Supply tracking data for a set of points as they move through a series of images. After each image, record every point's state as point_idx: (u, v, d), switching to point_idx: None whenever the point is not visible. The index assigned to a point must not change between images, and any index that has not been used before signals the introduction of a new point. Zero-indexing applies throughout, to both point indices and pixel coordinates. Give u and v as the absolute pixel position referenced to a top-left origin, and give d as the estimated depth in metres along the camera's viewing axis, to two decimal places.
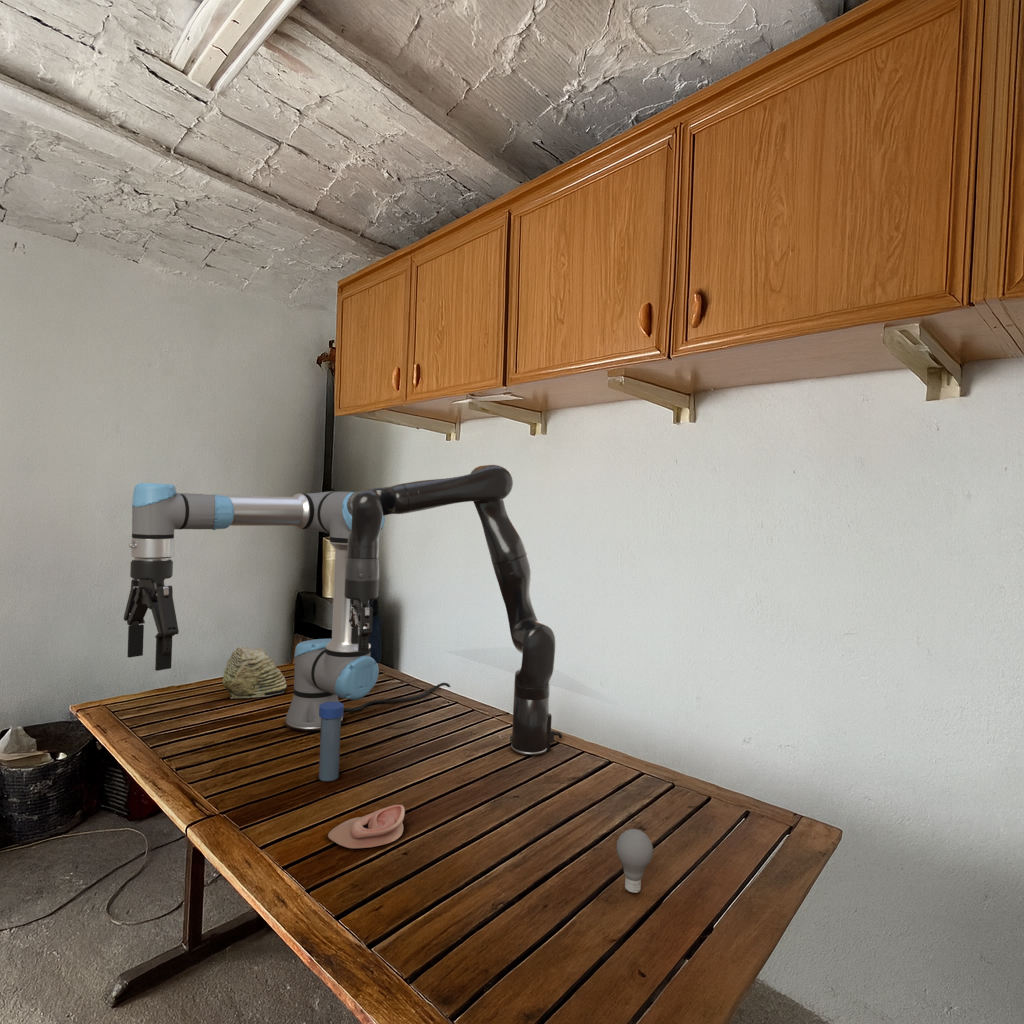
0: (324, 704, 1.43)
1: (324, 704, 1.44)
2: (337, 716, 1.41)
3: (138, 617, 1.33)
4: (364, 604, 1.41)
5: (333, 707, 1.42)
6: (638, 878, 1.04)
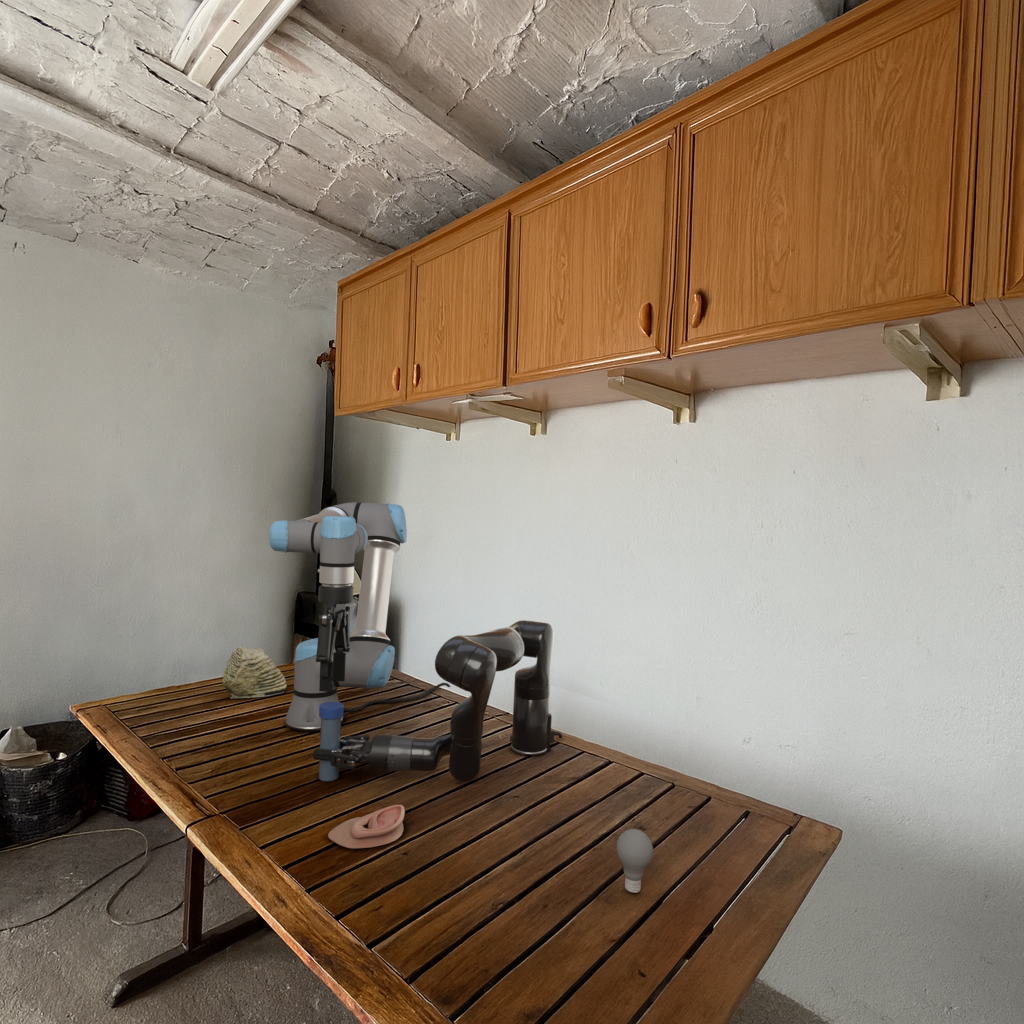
0: (324, 704, 1.43)
1: (323, 704, 1.44)
2: (337, 716, 1.41)
3: (339, 643, 1.46)
4: None
5: (333, 707, 1.42)
6: (638, 878, 1.04)
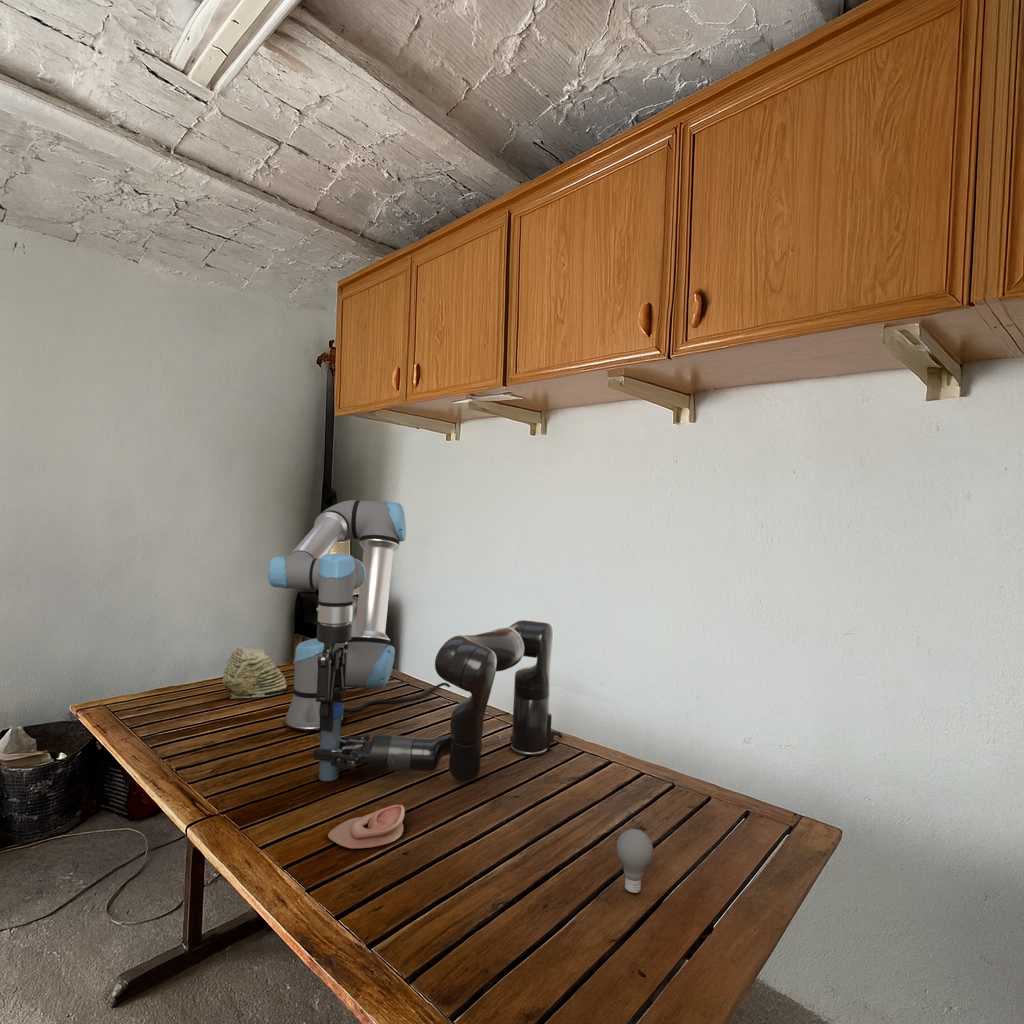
0: None
1: None
2: (337, 716, 1.41)
3: (337, 682, 1.46)
4: None
5: (333, 707, 1.42)
6: (638, 878, 1.04)
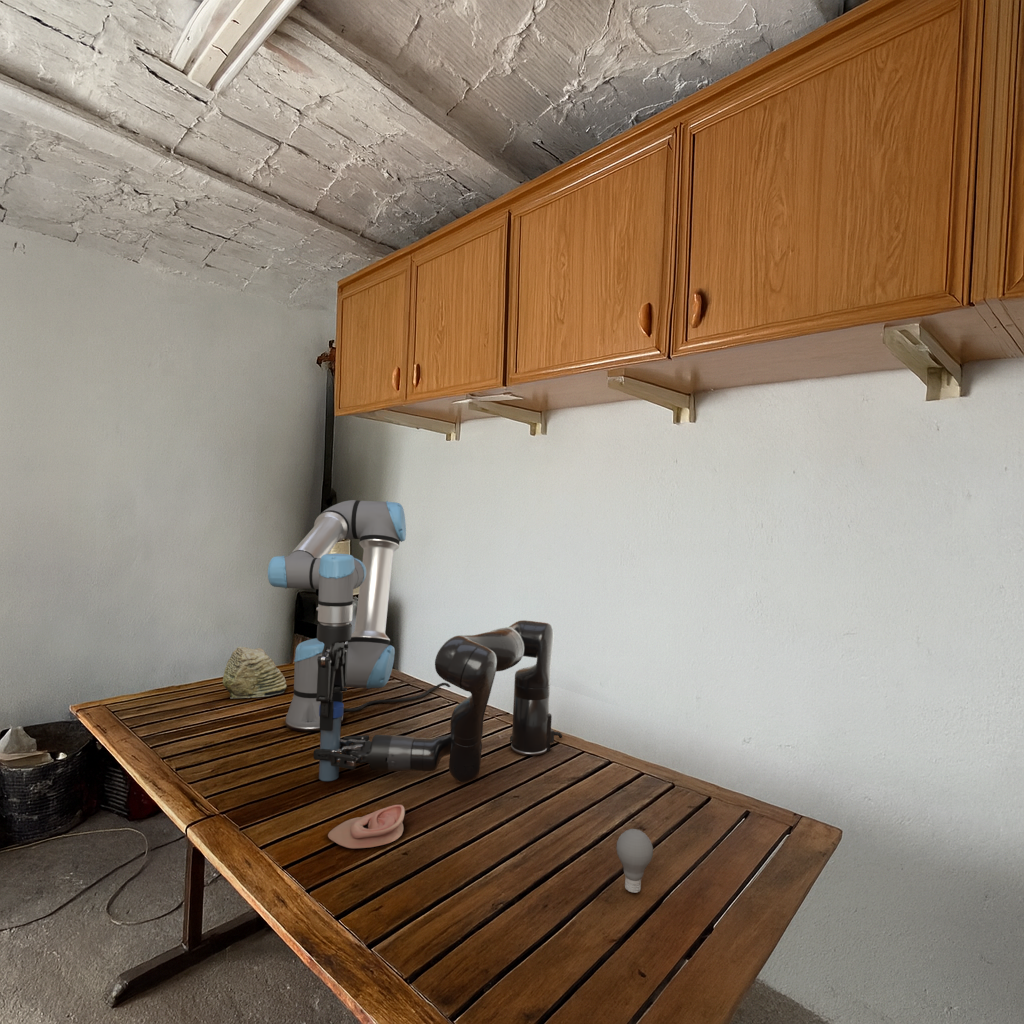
0: None
1: None
2: None
3: (337, 682, 1.46)
4: None
5: (338, 704, 1.43)
6: (638, 878, 1.04)
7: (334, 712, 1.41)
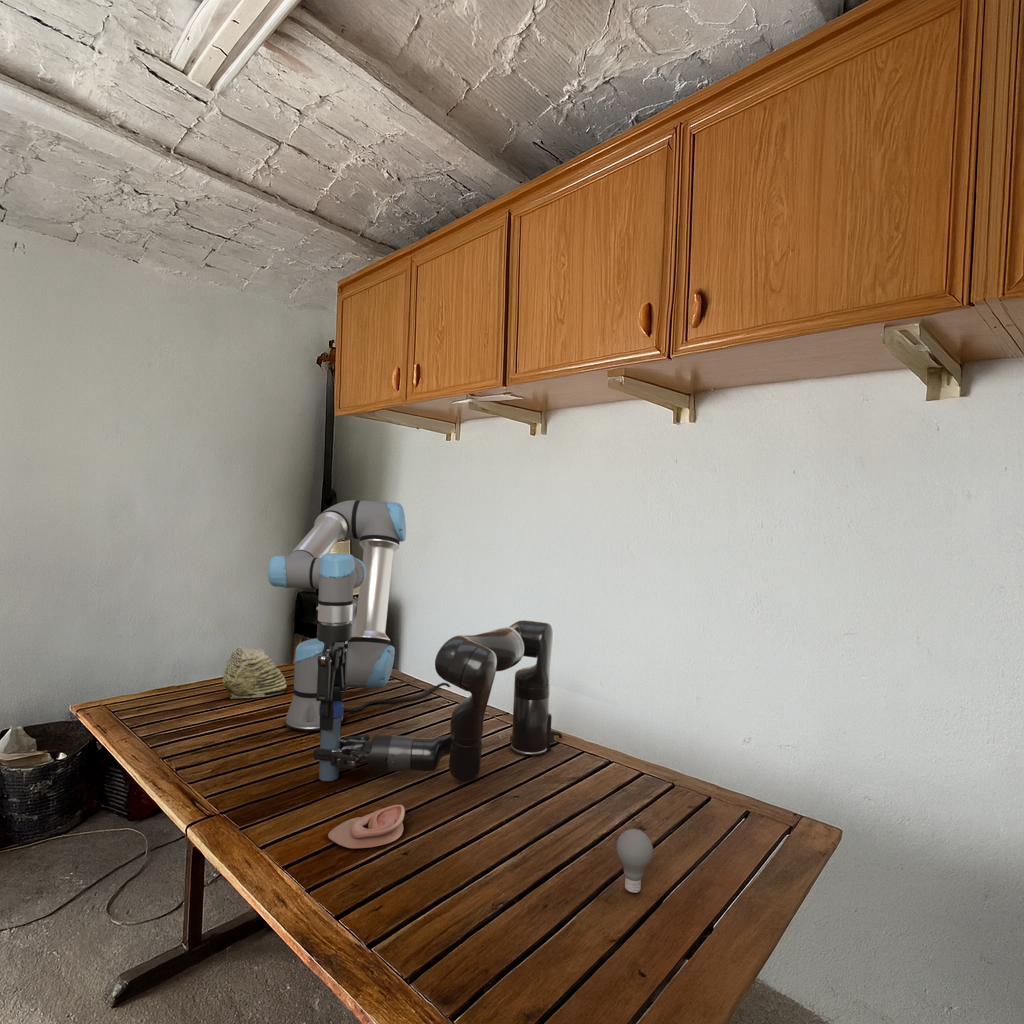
0: (336, 706, 1.42)
1: (336, 707, 1.42)
2: None
3: (337, 681, 1.46)
4: None
5: None
6: (638, 878, 1.04)
7: (343, 707, 1.44)
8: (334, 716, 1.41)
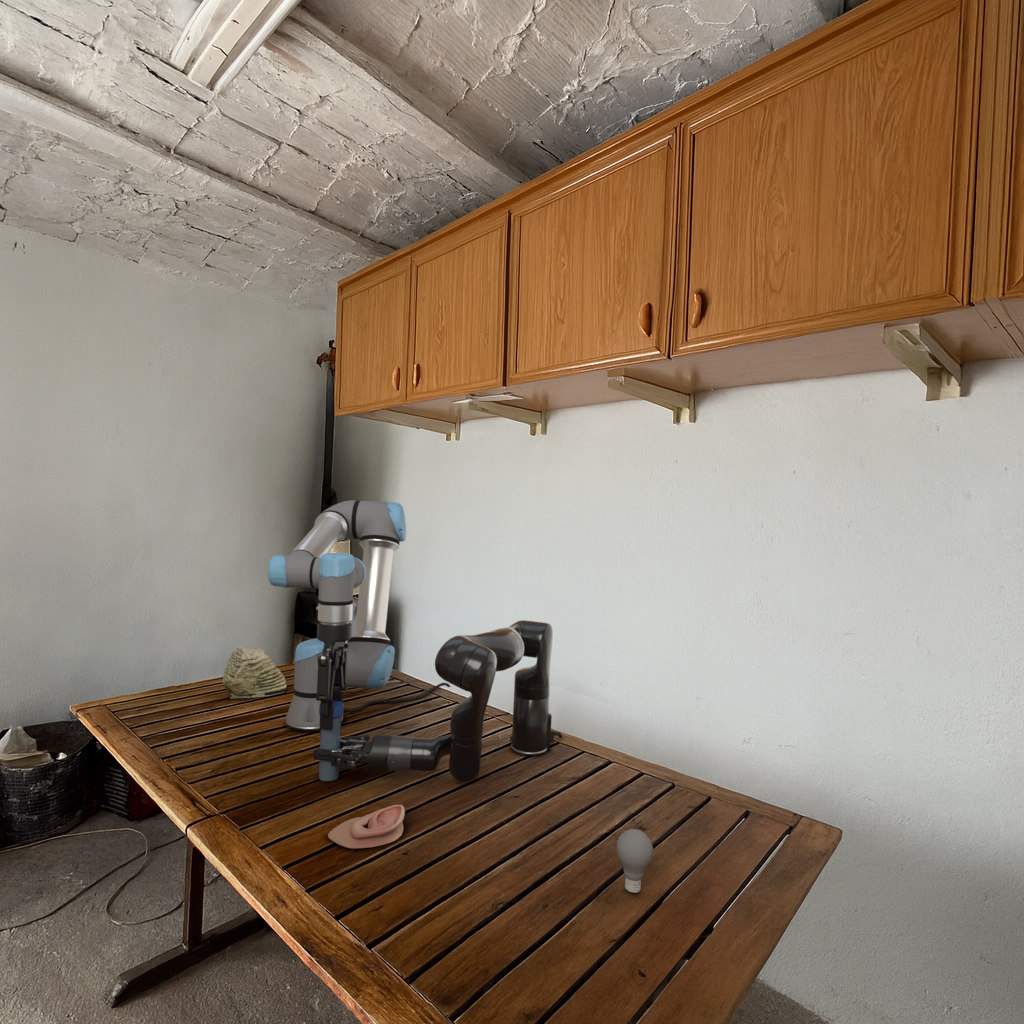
0: (339, 703, 1.44)
1: (340, 703, 1.44)
2: None
3: (337, 681, 1.46)
4: None
5: None
6: (638, 878, 1.04)
7: None
8: (343, 711, 1.44)
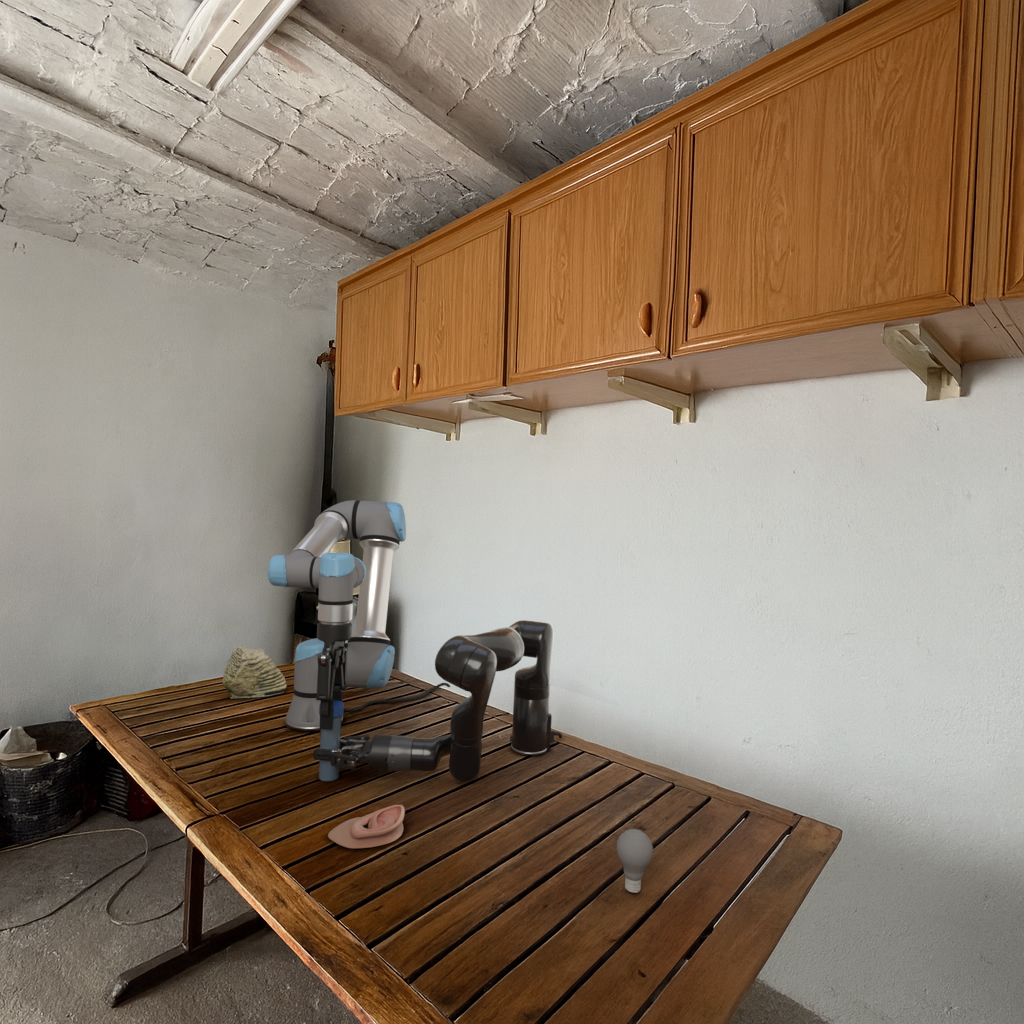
0: None
1: None
2: None
3: (337, 681, 1.46)
4: None
5: None
6: (638, 878, 1.04)
7: None
8: None
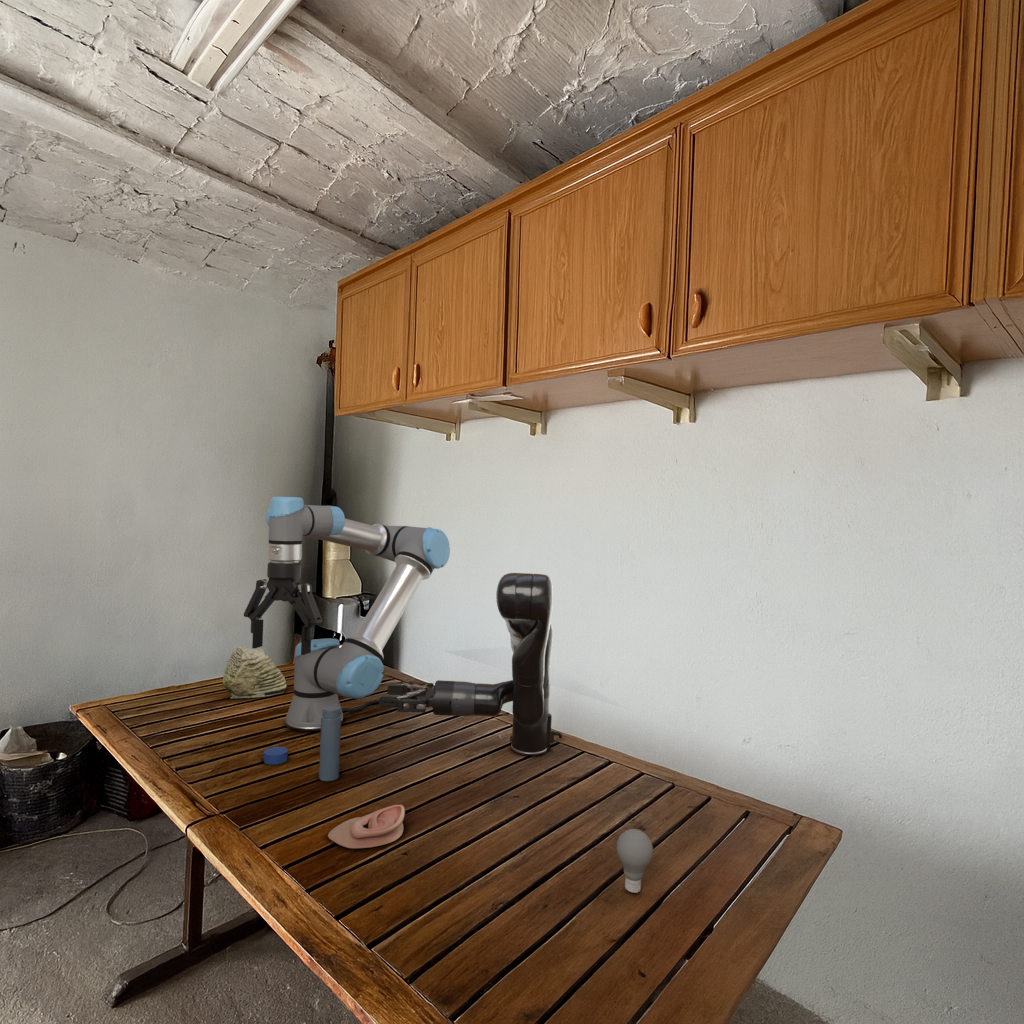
0: (268, 751, 1.51)
1: (267, 750, 1.51)
2: (284, 760, 1.50)
3: (261, 613, 1.53)
4: None
5: (279, 752, 1.50)
6: (638, 878, 1.04)
7: (267, 758, 1.49)
8: None
